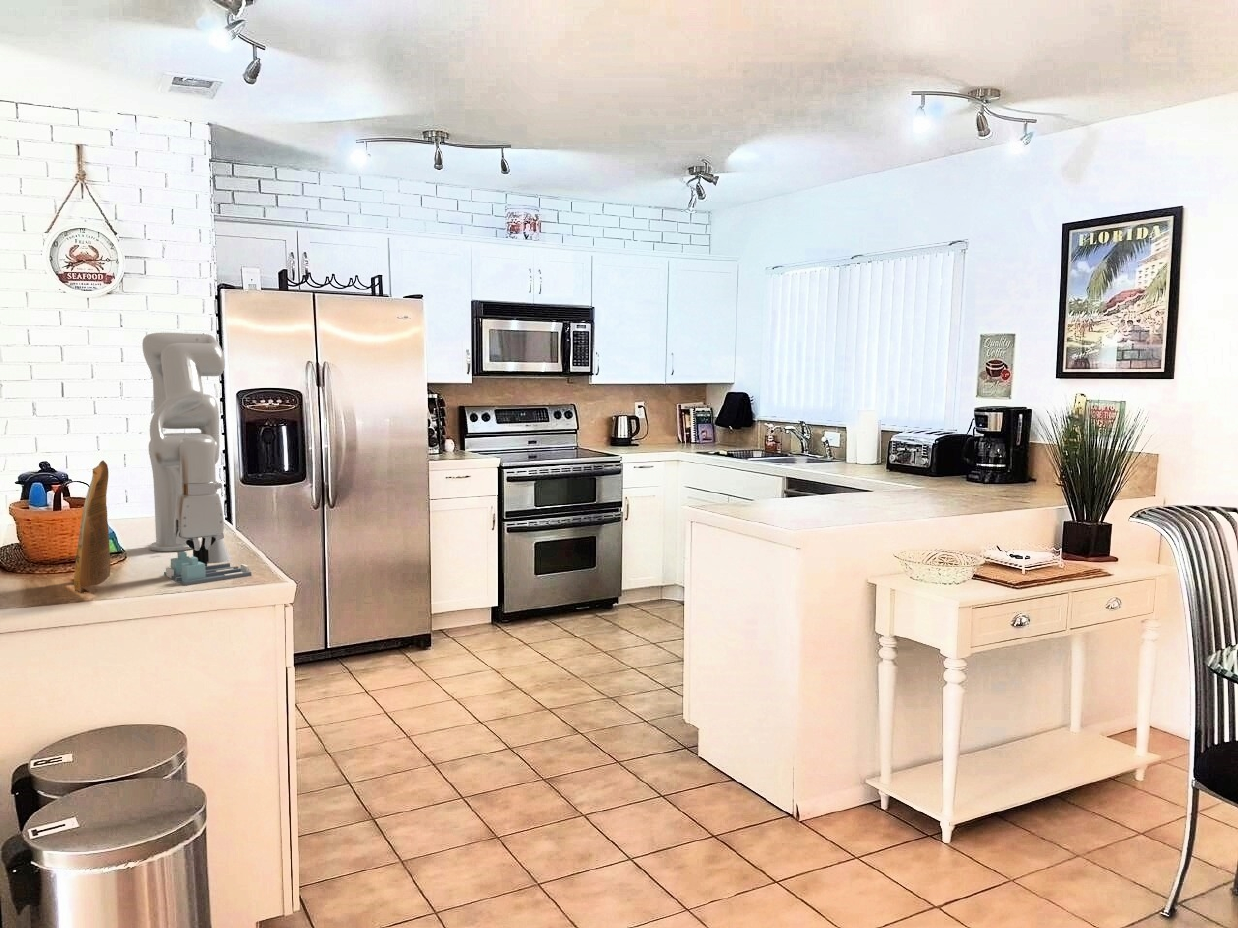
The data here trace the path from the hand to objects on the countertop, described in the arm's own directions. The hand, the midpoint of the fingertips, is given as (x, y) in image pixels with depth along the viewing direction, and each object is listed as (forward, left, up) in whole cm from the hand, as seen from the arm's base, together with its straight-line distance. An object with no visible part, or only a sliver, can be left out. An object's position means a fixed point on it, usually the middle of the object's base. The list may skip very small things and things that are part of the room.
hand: (201, 565), depth 212 cm
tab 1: (0, -4, -2) cm, 5 cm away
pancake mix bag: (-8, -20, -3) cm, 22 cm away
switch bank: (+4, 0, -3) cm, 5 cm away
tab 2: (+7, -4, -2) cm, 9 cm away
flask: (-12, +8, -3) cm, 15 cm away
